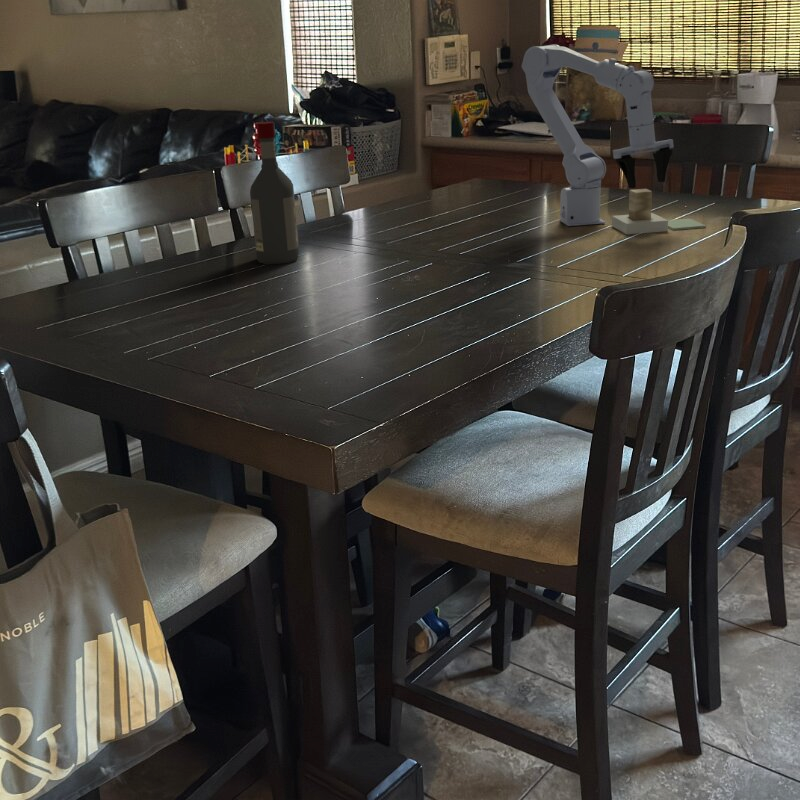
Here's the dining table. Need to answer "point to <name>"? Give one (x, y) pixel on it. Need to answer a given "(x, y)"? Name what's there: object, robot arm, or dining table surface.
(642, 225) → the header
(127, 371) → the dining table surface
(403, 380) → the dining table surface
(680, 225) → the mat
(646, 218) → the plug
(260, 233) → the liquor
